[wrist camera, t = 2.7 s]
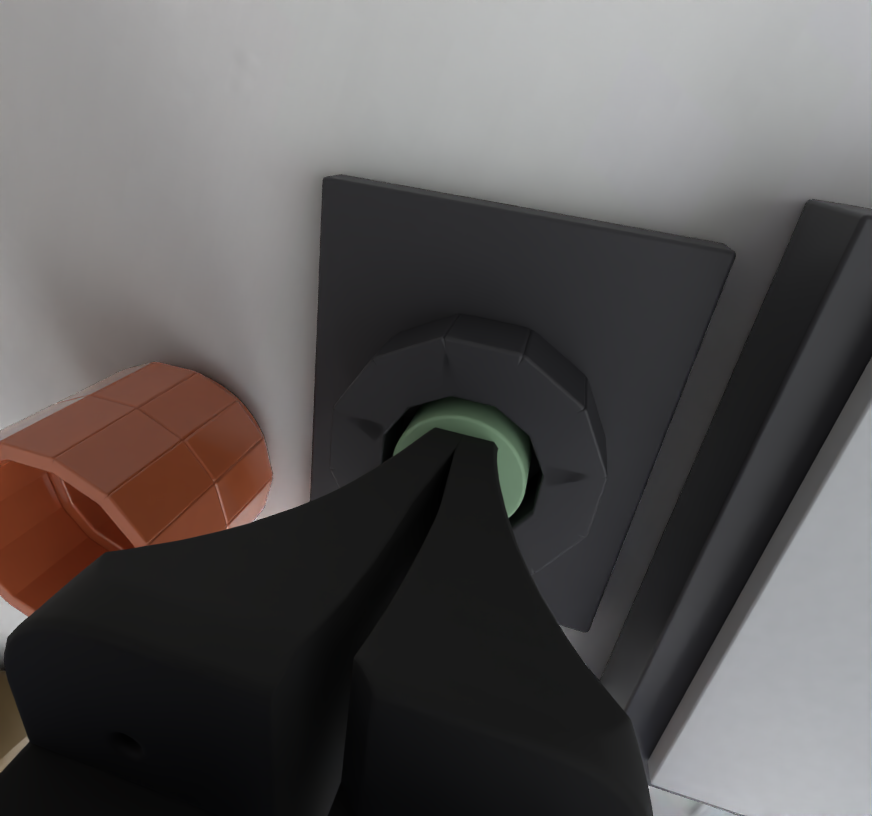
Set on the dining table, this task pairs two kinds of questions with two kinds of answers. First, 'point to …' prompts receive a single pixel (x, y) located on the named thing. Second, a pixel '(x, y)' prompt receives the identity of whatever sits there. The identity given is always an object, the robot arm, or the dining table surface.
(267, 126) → the dining table surface
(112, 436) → the terracotta flower pot
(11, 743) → the kendama
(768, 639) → the scale
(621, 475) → the pad
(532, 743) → the robot arm
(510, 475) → the tare button
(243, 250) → the dining table surface
